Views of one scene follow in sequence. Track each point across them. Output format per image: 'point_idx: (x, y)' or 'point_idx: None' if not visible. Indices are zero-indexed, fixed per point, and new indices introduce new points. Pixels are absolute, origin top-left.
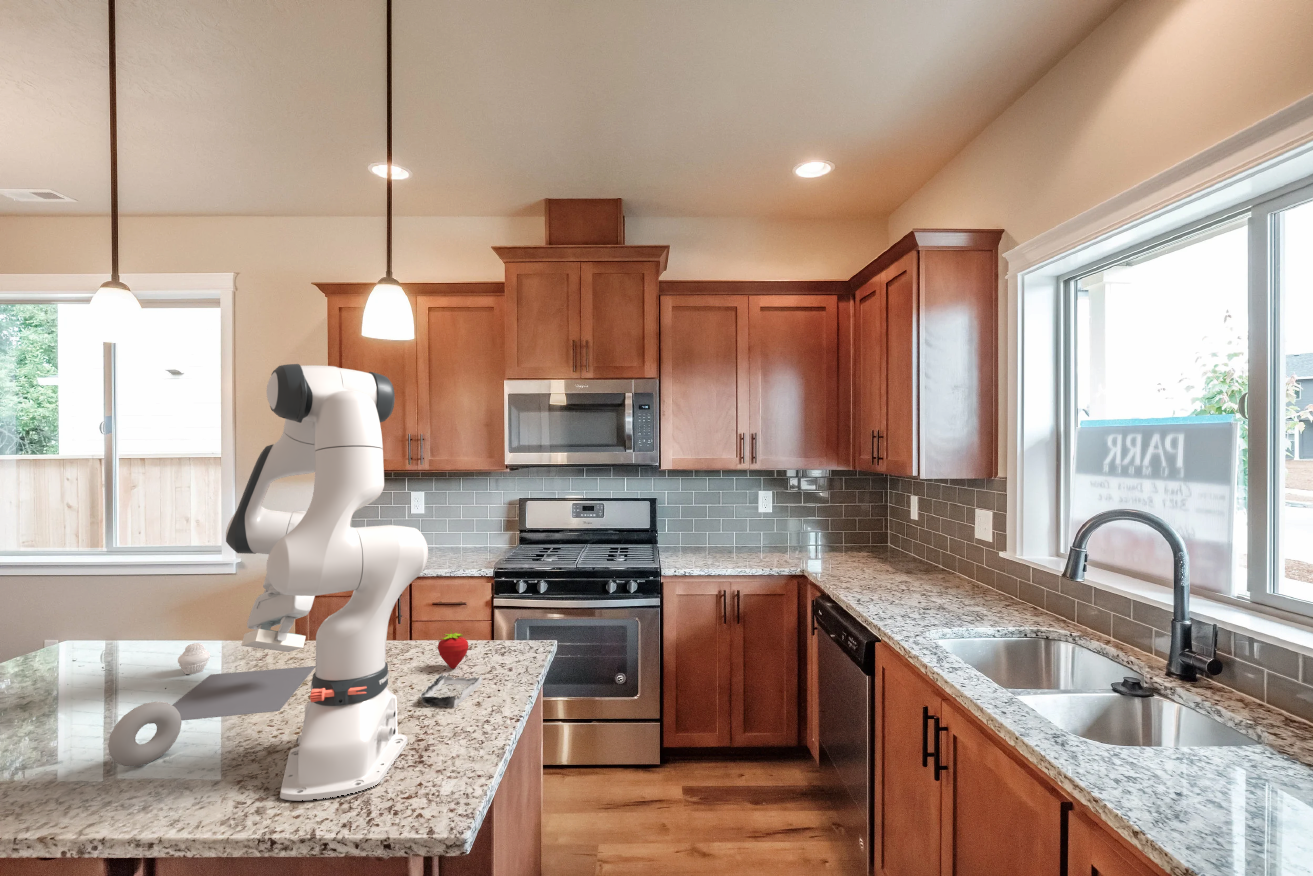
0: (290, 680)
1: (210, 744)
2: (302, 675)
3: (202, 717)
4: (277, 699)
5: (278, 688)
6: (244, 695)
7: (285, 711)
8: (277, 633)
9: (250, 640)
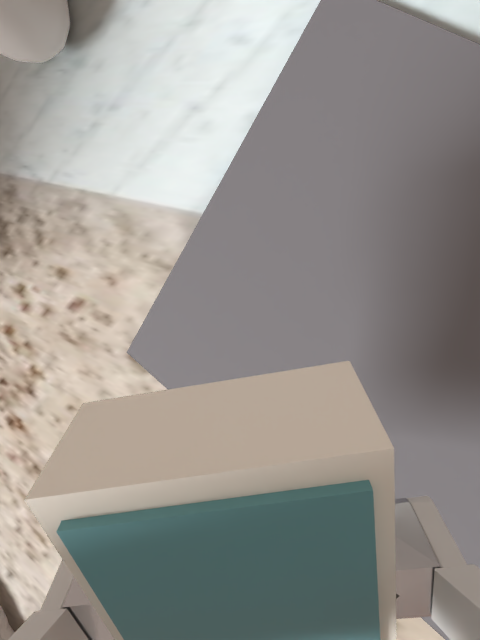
0: None
1: (66, 161)
2: None
3: (238, 159)
4: None
5: None
6: (356, 328)
7: (134, 368)
8: (72, 590)
9: (182, 401)
